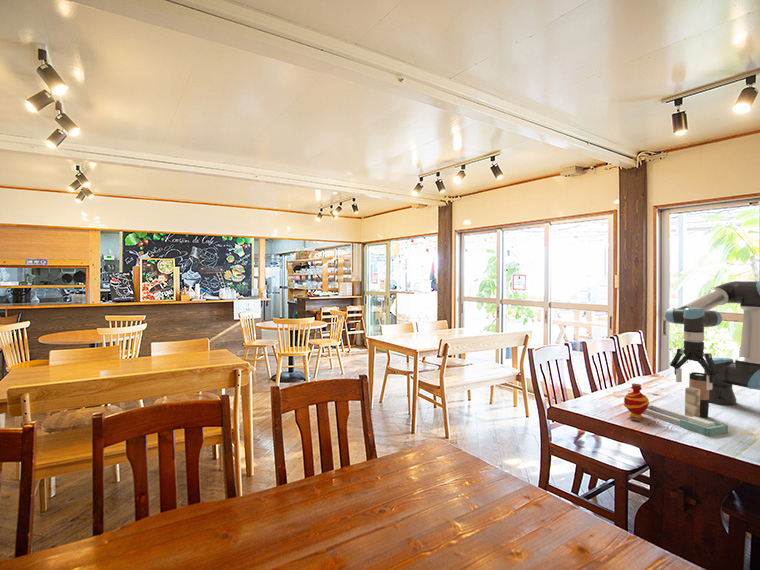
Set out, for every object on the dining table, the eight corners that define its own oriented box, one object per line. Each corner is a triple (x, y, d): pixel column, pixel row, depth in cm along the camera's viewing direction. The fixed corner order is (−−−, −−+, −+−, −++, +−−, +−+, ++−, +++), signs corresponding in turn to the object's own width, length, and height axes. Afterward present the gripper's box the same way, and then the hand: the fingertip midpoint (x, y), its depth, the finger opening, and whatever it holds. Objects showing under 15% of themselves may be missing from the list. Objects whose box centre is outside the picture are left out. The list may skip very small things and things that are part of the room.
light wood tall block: (690, 416, 191) (691, 387, 190) (699, 419, 187) (700, 389, 187) (684, 417, 189) (685, 387, 189) (693, 420, 186) (694, 390, 185)
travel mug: (712, 418, 187) (713, 376, 187) (693, 417, 189) (694, 375, 189) (702, 413, 195) (703, 372, 195) (685, 412, 197) (685, 371, 196)
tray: (698, 423, 182) (698, 416, 182) (727, 432, 171) (727, 425, 171) (679, 426, 178) (679, 419, 178) (708, 436, 167) (708, 428, 167)
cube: (704, 428, 176) (704, 419, 176) (714, 431, 172) (714, 422, 172) (698, 429, 174) (698, 420, 174) (708, 432, 171) (708, 423, 171)
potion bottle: (641, 421, 184) (641, 388, 184) (618, 414, 193) (619, 383, 193) (654, 417, 189) (654, 385, 189) (631, 410, 198) (632, 380, 198)
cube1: (694, 425, 179) (694, 416, 179) (704, 428, 176) (704, 419, 176) (688, 426, 178) (688, 417, 178) (697, 429, 174) (698, 420, 174)
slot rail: (650, 408, 202) (650, 404, 202) (695, 423, 182) (696, 418, 182) (635, 410, 199) (636, 406, 199) (680, 425, 179) (680, 421, 179)
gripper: (661, 337, 198) (661, 379, 199) (717, 345, 174) (717, 394, 175) (672, 336, 200) (672, 378, 201) (729, 344, 177) (729, 392, 177)
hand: (693, 385), depth 188 cm, fingers open, 13 cm apart
